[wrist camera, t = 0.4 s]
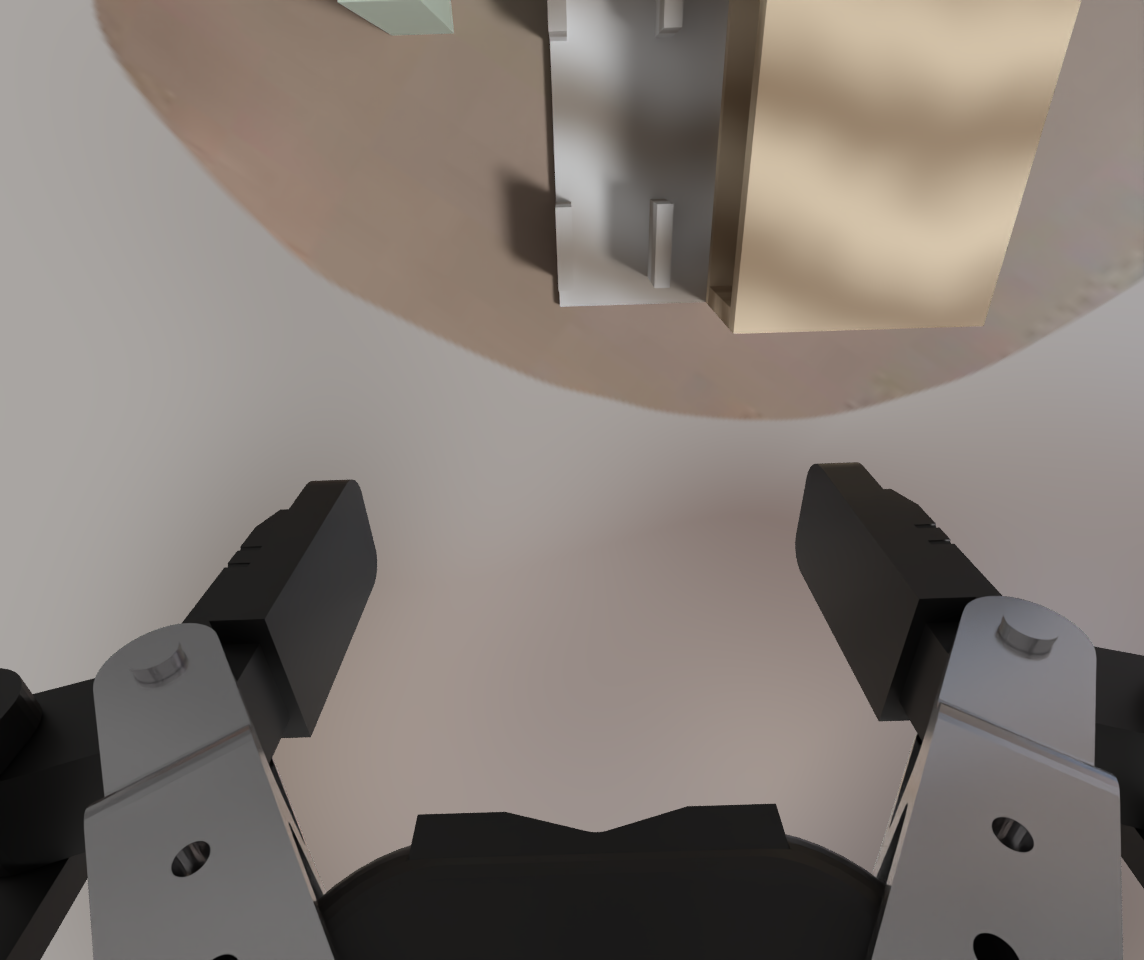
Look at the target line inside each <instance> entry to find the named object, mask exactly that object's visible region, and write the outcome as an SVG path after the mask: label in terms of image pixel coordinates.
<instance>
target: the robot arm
mask: <svg viewBox="0 0 1144 960" xmlns="http://www.w3.org/2000/svg"><path fill="white" fill-rule="evenodd" d="M795 545H796V546H795V549H796V558H797V562H798V566H799V569H800V571H801V574H802V575H803V577H804V579H805V581H806V583H807V585H808V587H809V589H810V591H811V593H812V594H813V596H814V598H815V600H816V602H817V604H818V606H819V607H820V610H821V611H822V614H823V615H824V617H825V619H826V621H827V623H828V625H829V627H830V629H831V631H832V633H833V635H834V636H835V638H836V640H837V642H838V644H839V646H840V648H841V650H842V652H843V654H844V656H845V657H846V659H847V661H848V663H849V665H850V667H851V669H852V671H853V673H854V675H855V676H856V678H857V680H858V682H859V684H860V686H861V688H862V690H863V692H864V694H865V696H866V698H867V699H868V701H869V703H870V705H871V707H872V709H873V711H874V713H875V715H876V717H877V718H878V720H879V721H904V720H910V721H911V723H912V725H913V726H914V728H915V730H916V731H917V734H916V736H915V739H914V741H913V744H912V746H911V750H910V753H909V757H908V760H907V763H906V767H905V770H904V773H903V776H902V779H901V783H900V786H899V790H898V793H897V796H896V800H895V803H894V806H893V810H892V812H891V816H890V819H889V822H888V826H887V829H886V832H885V836H884V839H883V843H882V845H881V849H880V852H879V855H878V858H877V861H876V863H875V866H874V869H873V872H872V874H871V873H869V872H868V871H867V870H865V869H863V868H862V867H860V866H858V865H857V864H855V863H853V862H851V861H850V860H848V859H847V858H845V857H843V856H841V855H839V854H837V853H835V852H833V851H831V850H829V849H826V848H825V847H822V846H820V845H818V844H815V843H812V842H809V841H806V840H803V839H801V838H798V837H794V836H790V835H786V834H785V832H784V829H783V826H782V822H781V819H780V816H779V813H778V809H777V806H776V804H752V805H721V806H687V807H684V808H681V809H678V810H674V811H671V812H668V813H664V814H661V815H658V816H655V817H651V818H648V819H645V820H641V821H638V822H635V823H632V824H628V825H625V826H622V827H618V828H615V829H611V830H608V831H604V832H588V831H583V830H579V829H575V828H570V827H567V826H562V825H558V824H554V823H549V822H545V821H541V820H537V819H533V818H529V817H524V816H520V815H515V814H512V813H507V812H489V813H458V814H457V813H456V814H425V815H418V816H417V821H416V825H415V831H414V835H413V839H412V844H411V846H408V847H404V848H401V849H398V850H396V851H394V852H391V853H389V854H387V855H384V856H382V857H380V858H377V859H376V860H374V861H372V862H370V863H369V864H367V865H365V866H363V867H361V868H360V869H358V870H356V871H355V872H353V873H352V874H350V875H349V876H348V877H346V878H345V879H343V880H342V881H341V882H339V883H338V884H336V885H335V886H334V887H332V888H331V889H330V890H329V891H328V892H326V890H325V887H324V885H323V883H322V880H321V878H320V876H319V873H318V871H317V868H316V866H315V863H314V861H313V858H312V856H311V853H310V851H309V848H308V846H307V843H306V840H305V838H304V836H303V833H302V830H301V828H300V825H299V823H298V820H297V818H296V815H295V812H294V810H293V807H292V805H291V802H290V800H289V797H288V794H287V792H286V789H285V787H284V784H283V781H282V779H281V776H280V774H279V771H278V769H277V766H276V764H275V762H274V760H273V757H272V756H273V754H274V752H275V750H276V748H277V746H278V743H279V741H280V739H281V738H298V737H311V735H312V733H313V731H314V728H315V726H316V723H317V721H318V718H319V716H320V714H321V711H322V709H323V706H324V704H325V702H326V699H327V697H328V694H329V692H330V690H331V687H332V685H333V682H334V680H335V678H336V675H337V673H338V670H339V668H340V665H341V663H342V661H343V658H344V656H345V653H346V651H347V649H348V646H349V644H350V641H351V639H352V636H353V634H354V632H355V629H356V627H357V625H358V622H359V620H360V617H361V615H362V612H363V610H364V608H365V605H366V603H367V600H368V598H369V595H370V593H371V591H372V588H373V586H374V583H375V579H376V573H377V555H376V549H375V545H374V541H373V537H372V533H371V529H370V525H369V521H368V517H367V513H366V509H365V504H364V501H363V496H362V492H361V489H360V487H359V485H358V483H357V482H356V481H355V480H328V481H311V482H309V483H308V484H307V485H306V486H305V487H304V489H303V490H302V492H301V493H300V494H299V496H298V497H297V499H296V500H295V501H294V503H293V504H292V506H291V507H290V508H289V509H287V510H279V511H278V512H276V513H275V514H274V515H272V516H271V517H269V518H268V519H266V520H265V521H264V522H262V523H261V524H259V525H258V526H257V527H255V529H254V530H253V531H252V532H251V534H250V535H249V536H248V538H247V539H246V540H245V542H244V543H243V544H242V545H241V550H240V551H237V552H236V554H235V555H234V556H233V557H232V558H231V560H230V561H229V562H228V568H224V569H223V570H222V572H221V573H220V574H219V575H218V577H217V578H216V579H215V581H214V582H213V583H212V585H211V586H210V587H209V588H208V590H207V591H206V592H205V594H204V595H203V596H202V598H201V599H200V600H199V602H198V603H197V604H196V605H195V607H194V608H193V609H192V611H191V612H190V613H189V615H188V616H187V617H186V619H185V620H184V621H183V622H182V624H175V625H170V626H167V627H163V628H160V629H157V630H154V631H151V632H149V633H147V634H145V635H143V636H140V637H138V638H137V639H135V640H133V641H131V642H130V643H128V644H127V645H125V646H124V647H122V648H121V649H119V650H118V651H117V652H116V653H114V654H113V655H112V656H111V657H110V658H109V659H108V660H107V661H106V662H105V663H104V665H103V666H102V667H101V669H100V670H99V672H98V673H97V675H96V677H95V678H94V679H90V680H86V681H83V682H79V683H75V684H71V685H67V686H63V687H59V688H55V689H52V690H48V691H44V692H40V693H36V694H32V693H31V692H30V690H29V689H28V687H27V686H26V684H25V683H24V682H23V680H22V679H21V677H20V676H19V675H18V674H17V673H16V672H13V671H11V670H8V669H2V668H0V960H40V959H41V958H42V956H43V954H44V952H45V951H46V949H47V947H48V946H49V944H50V942H51V940H52V939H53V937H54V935H55V933H56V932H57V930H58V928H59V926H60V925H61V923H62V921H63V919H64V918H65V916H66V914H67V913H68V911H69V909H70V907H71V906H72V904H73V902H74V901H75V899H76V897H77V895H78V894H79V892H80V890H81V888H82V887H83V885H84V883H85V882H86V880H87V878H88V889H89V903H90V916H91V929H92V943H93V957H94V960H1123V937H1122V936H1123V935H1122V885H1121V884H1122V883H1121V882H1122V881H1121V857H1122V858H1123V859H1124V861H1125V862H1126V864H1127V865H1128V867H1129V868H1130V870H1131V871H1132V873H1133V874H1134V875H1135V877H1136V878H1137V880H1138V881H1139V882H1140V884H1141V885H1142V887H1143V888H1144V656H1142V655H1136V654H1131V653H1126V652H1120V651H1115V650H1109V649H1104V648H1099V647H1094V646H1093V644H1092V642H1091V641H1090V639H1089V638H1088V637H1087V635H1086V634H1085V633H1084V632H1083V631H1082V630H1081V629H1080V628H1078V627H1077V626H1076V625H1075V624H1074V623H1072V622H1071V621H1069V620H1068V619H1066V618H1065V617H1063V616H1062V615H1060V614H1058V613H1056V612H1055V611H1052V610H1050V609H1048V608H1046V607H1044V606H1041V605H1039V604H1036V603H1033V602H1030V601H1026V600H1022V599H1019V598H1013V597H1007V596H1002V595H1001V594H1000V593H999V592H998V591H997V589H995V587H994V586H993V585H992V584H991V583H990V582H989V581H988V580H987V579H986V578H985V577H984V576H983V574H982V573H981V572H980V571H979V570H978V569H977V568H976V567H975V566H974V565H973V564H972V562H970V560H969V559H968V558H967V557H966V556H965V555H964V554H963V553H962V552H961V551H960V550H959V548H957V546H956V545H955V544H951V543H950V539H949V538H948V536H947V535H946V534H945V533H944V532H943V531H942V530H941V529H940V528H936V524H935V522H934V521H933V520H932V519H931V518H930V517H929V516H928V515H927V514H926V513H925V512H924V511H923V509H922V508H921V507H920V506H919V505H918V504H916V503H914V502H913V501H911V500H909V499H907V498H906V497H904V496H902V495H900V494H899V493H897V492H895V491H894V490H892V489H883V488H882V487H881V486H880V485H879V484H878V483H877V481H876V480H875V479H874V478H873V477H872V476H871V475H870V473H869V472H868V471H867V470H866V469H865V468H864V467H863V465H861V464H860V463H857V462H854V463H827V464H826V463H825V464H814V465H812V466H811V467H810V469H809V471H808V475H807V479H806V484H805V490H804V495H803V500H802V506H801V511H800V517H799V522H798V528H797V533H796V542H795Z"/></svg>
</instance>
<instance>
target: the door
mask: <svg viewBox="0 0 1144 960" xmlns="http://www.w3.org/2000/svg"><path fill="white" fill-rule="evenodd" d="M337 1H338V3H339V4H341V5H343V6H344V7H346V8H348V9H349V10H351V11H353V12H354V13H356V14H357V15H359V16H361V17H362V18H364V19H366V20H367V21H369V22H371V23H372V24H374V25H375V26H377V27H379V28H380V29H382V30H384V31H385V32H387V33H388V34H390V35H420V34H450V33H454V28H453V18H452V8H451V0H337Z"/></svg>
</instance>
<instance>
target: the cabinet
mask: <svg viewBox="0 0 1144 960" xmlns="http://www.w3.org/2000/svg"><path fill="white" fill-rule="evenodd" d="M1080 4H1081V0H547V5H548V31H549V38H550V54H551V80H552V107H553V133H554V160H555V187H556V206H555V214H556V240H557V266H558V291H559V293H560V307H564V306H596V305H629V304H661V303H693V302H706V303H707V304H708V305H709V306H710V308H711V309H712V310H713V311H714V312H715V313H716V314H717V316H718V317H719V318H720V319H721V320H722V321H723V322H724V324H725V325H726V326H727V327H728V328H729V329H730V330H731V332H732V333H733V334H741V333H774V332H806V331H839V330H871V329H904V328H936V327H969V326H984V323H985V319H986V316H987V313H988V309H989V306H990V303H991V299H992V296H993V293H994V289H995V286H996V283H997V279H998V276H999V273H1000V270H1001V266H1002V263H1003V260H1004V256H1005V253H1006V250H1007V246H1008V243H1009V240H1010V236H1011V233H1012V230H1013V226H1014V223H1015V220H1016V216H1017V213H1018V210H1019V206H1020V203H1021V200H1022V196H1023V193H1024V190H1025V186H1026V183H1027V180H1028V176H1029V173H1030V170H1031V167H1032V163H1033V160H1034V157H1035V153H1036V150H1037V147H1038V143H1039V140H1040V137H1041V133H1042V130H1043V127H1044V123H1045V120H1046V117H1047V113H1048V110H1049V107H1050V103H1051V100H1052V97H1053V93H1054V90H1055V87H1056V83H1057V80H1058V77H1059V73H1060V70H1061V67H1062V64H1063V60H1064V57H1065V54H1066V50H1067V47H1068V44H1069V40H1070V37H1071V34H1072V30H1073V27H1074V24H1075V20H1076V17H1077V14H1078V10H1079V7H1080Z"/></svg>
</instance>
